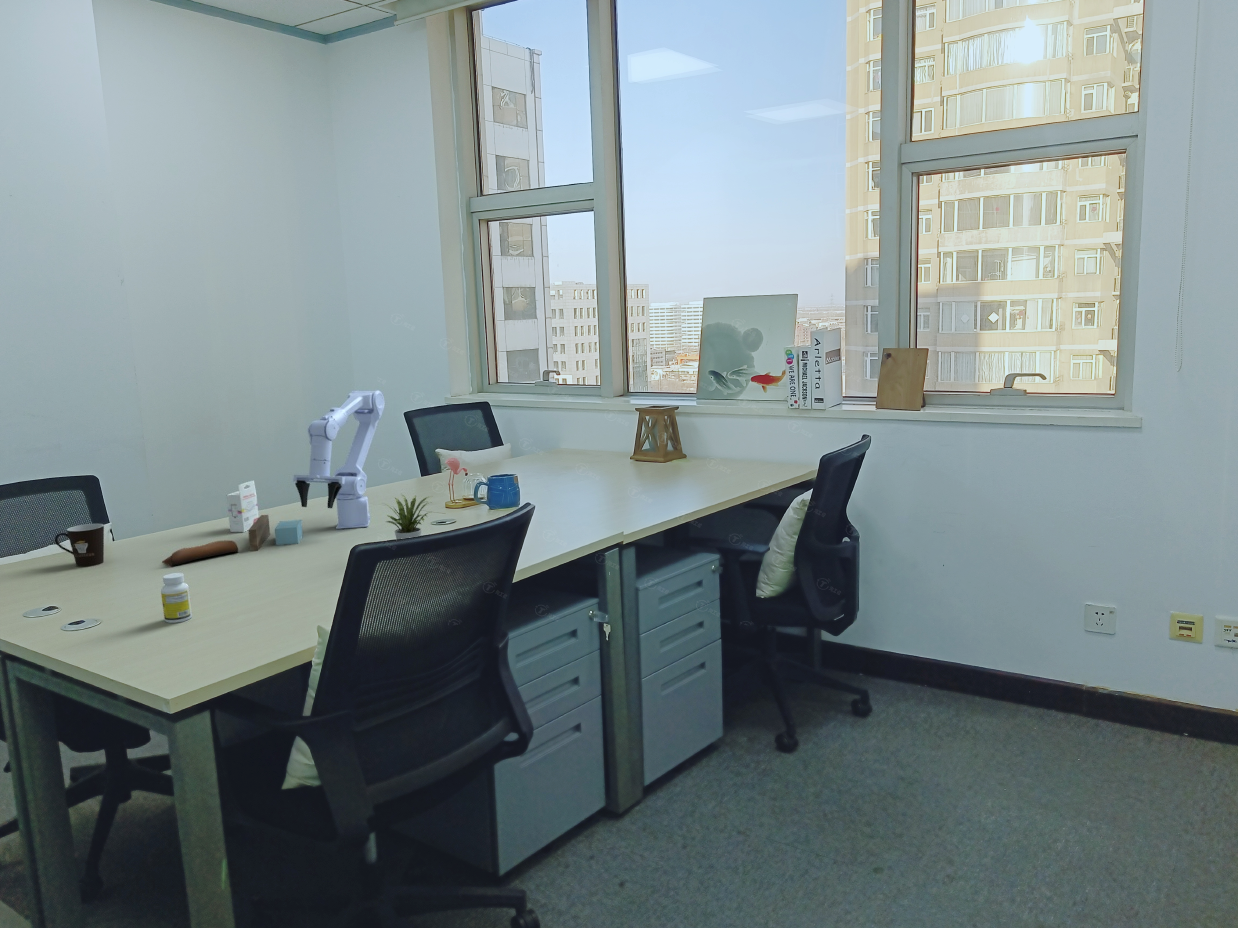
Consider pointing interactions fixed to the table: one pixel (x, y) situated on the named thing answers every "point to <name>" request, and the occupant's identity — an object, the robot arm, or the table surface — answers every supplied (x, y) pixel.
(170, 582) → the supplement bottle
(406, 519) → the house plant
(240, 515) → the ink cartridge box
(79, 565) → the coffee mug
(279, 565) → the table surface
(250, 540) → the walnut board
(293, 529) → the teal block
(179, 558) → the sweet potato
